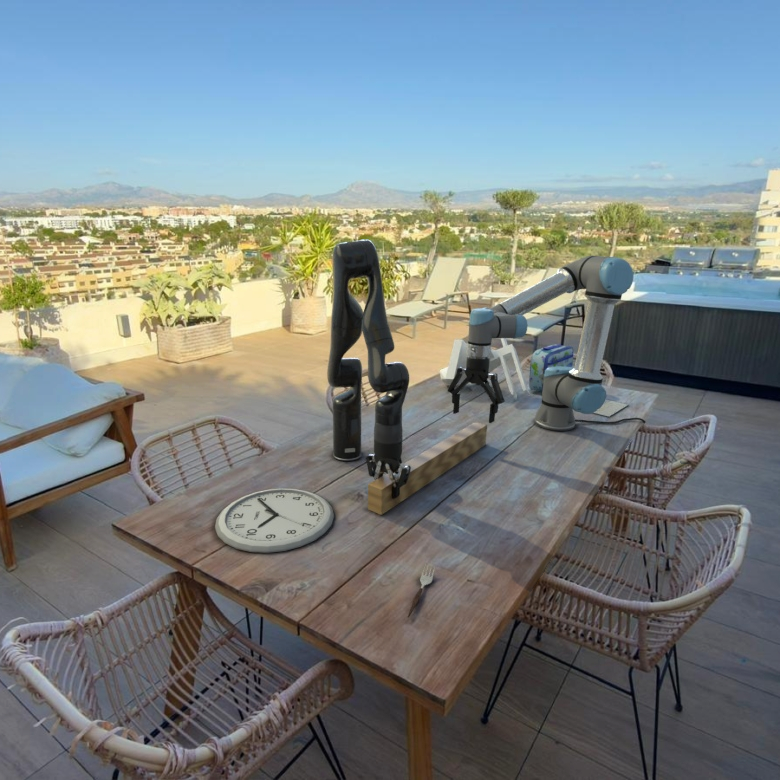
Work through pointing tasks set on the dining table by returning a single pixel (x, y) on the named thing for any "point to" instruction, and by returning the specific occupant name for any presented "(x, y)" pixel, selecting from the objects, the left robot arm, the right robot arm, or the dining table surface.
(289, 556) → the dining table surface
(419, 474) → the post
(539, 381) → the lunch box
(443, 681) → the dining table surface
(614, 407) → the invitation card
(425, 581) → the fork
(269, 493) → the wall clock
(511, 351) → the white plastic object
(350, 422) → the left robot arm
